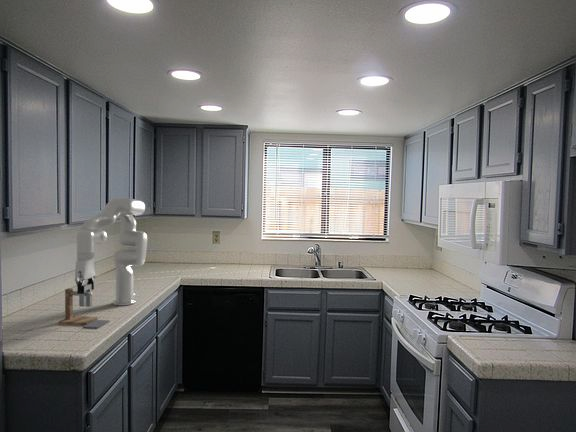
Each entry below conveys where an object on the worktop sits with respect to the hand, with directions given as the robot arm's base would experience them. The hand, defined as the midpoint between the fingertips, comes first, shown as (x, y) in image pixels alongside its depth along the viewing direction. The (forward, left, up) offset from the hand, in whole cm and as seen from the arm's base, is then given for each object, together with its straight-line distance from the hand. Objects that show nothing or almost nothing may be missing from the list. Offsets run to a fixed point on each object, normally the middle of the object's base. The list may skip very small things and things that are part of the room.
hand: (85, 291), depth 208 cm
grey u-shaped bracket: (0, 0, -8) cm, 8 cm away
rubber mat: (+4, +8, -15) cm, 17 cm away
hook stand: (0, -4, -15) cm, 16 cm away
